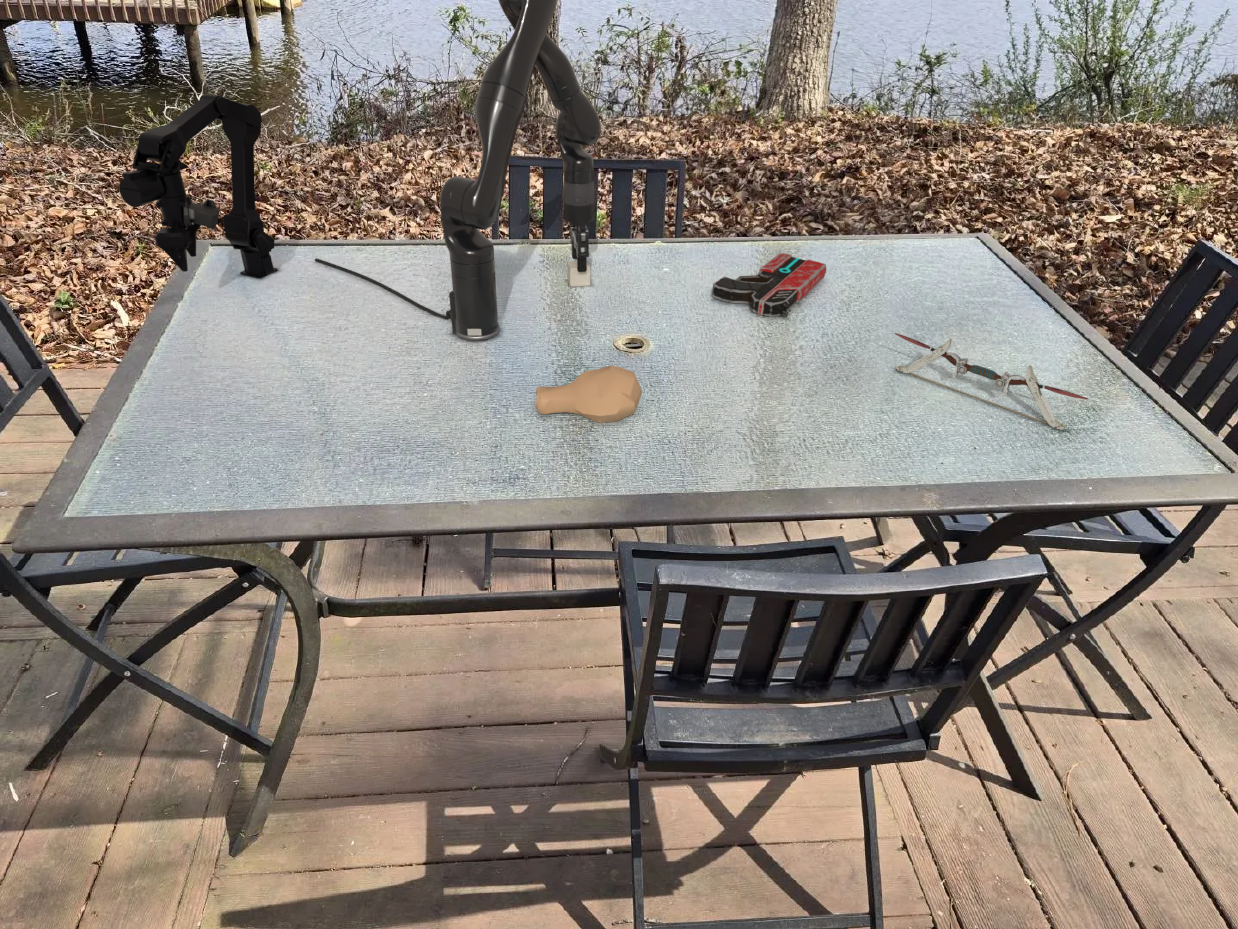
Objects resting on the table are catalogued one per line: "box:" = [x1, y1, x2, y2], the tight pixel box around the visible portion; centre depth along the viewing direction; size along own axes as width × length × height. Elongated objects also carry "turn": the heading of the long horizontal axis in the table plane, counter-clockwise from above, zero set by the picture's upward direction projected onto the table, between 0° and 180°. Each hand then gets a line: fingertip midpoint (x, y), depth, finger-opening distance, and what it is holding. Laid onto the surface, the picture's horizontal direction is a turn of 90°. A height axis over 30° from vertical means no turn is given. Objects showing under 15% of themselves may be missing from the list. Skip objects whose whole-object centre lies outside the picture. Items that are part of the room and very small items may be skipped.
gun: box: [711, 252, 827, 318], centre depth 215 cm, size 4×31×19 cm
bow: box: [894, 332, 1090, 431], centre depth 170 cm, size 39×2×10 cm, turn 47°
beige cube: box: [566, 260, 591, 287], centre depth 217 cm, size 5×5×5 cm
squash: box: [534, 364, 643, 424], centre depth 162 cm, size 11×20×9 cm, turn 90°
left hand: (189, 263), depth 197 cm, fingers open, 9 cm apart
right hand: (579, 264), depth 216 cm, fingers open, 8 cm apart
